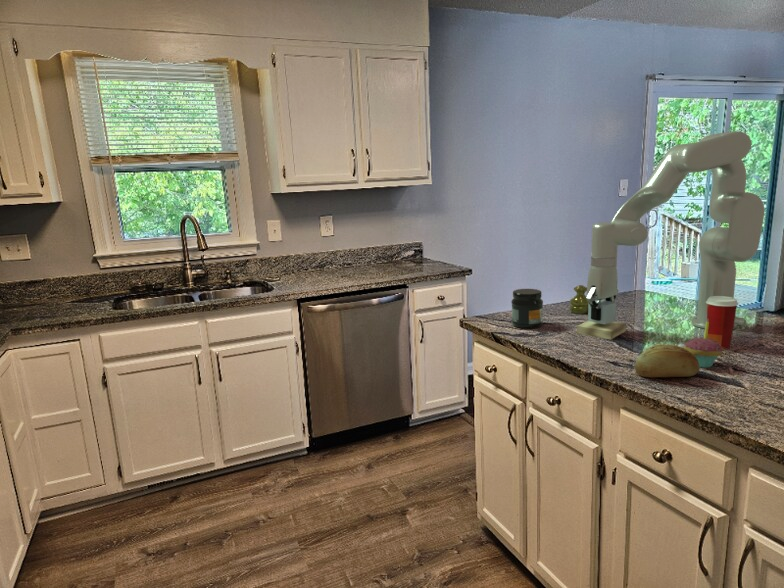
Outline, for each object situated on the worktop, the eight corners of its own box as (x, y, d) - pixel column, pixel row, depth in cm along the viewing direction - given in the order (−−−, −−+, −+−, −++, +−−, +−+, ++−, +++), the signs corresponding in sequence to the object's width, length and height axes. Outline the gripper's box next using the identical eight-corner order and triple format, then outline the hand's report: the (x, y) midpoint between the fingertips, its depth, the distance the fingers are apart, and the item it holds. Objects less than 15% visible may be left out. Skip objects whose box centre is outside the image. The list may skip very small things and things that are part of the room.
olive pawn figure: (566, 310, 194) (566, 284, 192) (585, 308, 195) (585, 282, 192) (575, 314, 187) (575, 288, 185) (594, 313, 187) (595, 286, 185)
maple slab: (625, 332, 165) (625, 323, 164) (610, 340, 158) (611, 331, 157) (592, 326, 173) (592, 318, 172) (576, 334, 165) (577, 325, 165)
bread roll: (708, 383, 122) (710, 351, 121) (642, 384, 124) (644, 352, 122) (689, 368, 132) (691, 339, 130) (629, 369, 134) (630, 340, 132)
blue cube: (615, 320, 164) (616, 302, 162) (604, 324, 160) (605, 305, 159) (599, 317, 168) (599, 299, 167) (588, 320, 165) (588, 302, 164)
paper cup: (729, 342, 149) (734, 295, 146) (737, 350, 142) (742, 302, 139) (699, 341, 152) (702, 295, 149) (705, 349, 145) (709, 301, 142)
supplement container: (549, 326, 174) (549, 292, 172) (522, 331, 171) (522, 296, 168) (531, 319, 184) (531, 286, 181) (505, 323, 181) (505, 290, 178)
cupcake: (689, 356, 140) (692, 314, 137) (725, 363, 134) (729, 319, 131) (678, 365, 134) (681, 321, 131) (716, 373, 128) (720, 327, 125)
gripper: (609, 257, 168) (607, 310, 172) (576, 264, 159) (575, 320, 162) (630, 259, 162) (628, 314, 166) (598, 267, 153) (596, 325, 156)
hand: (602, 317), depth 164 cm, fingers closed on blue cube, 5 cm apart
